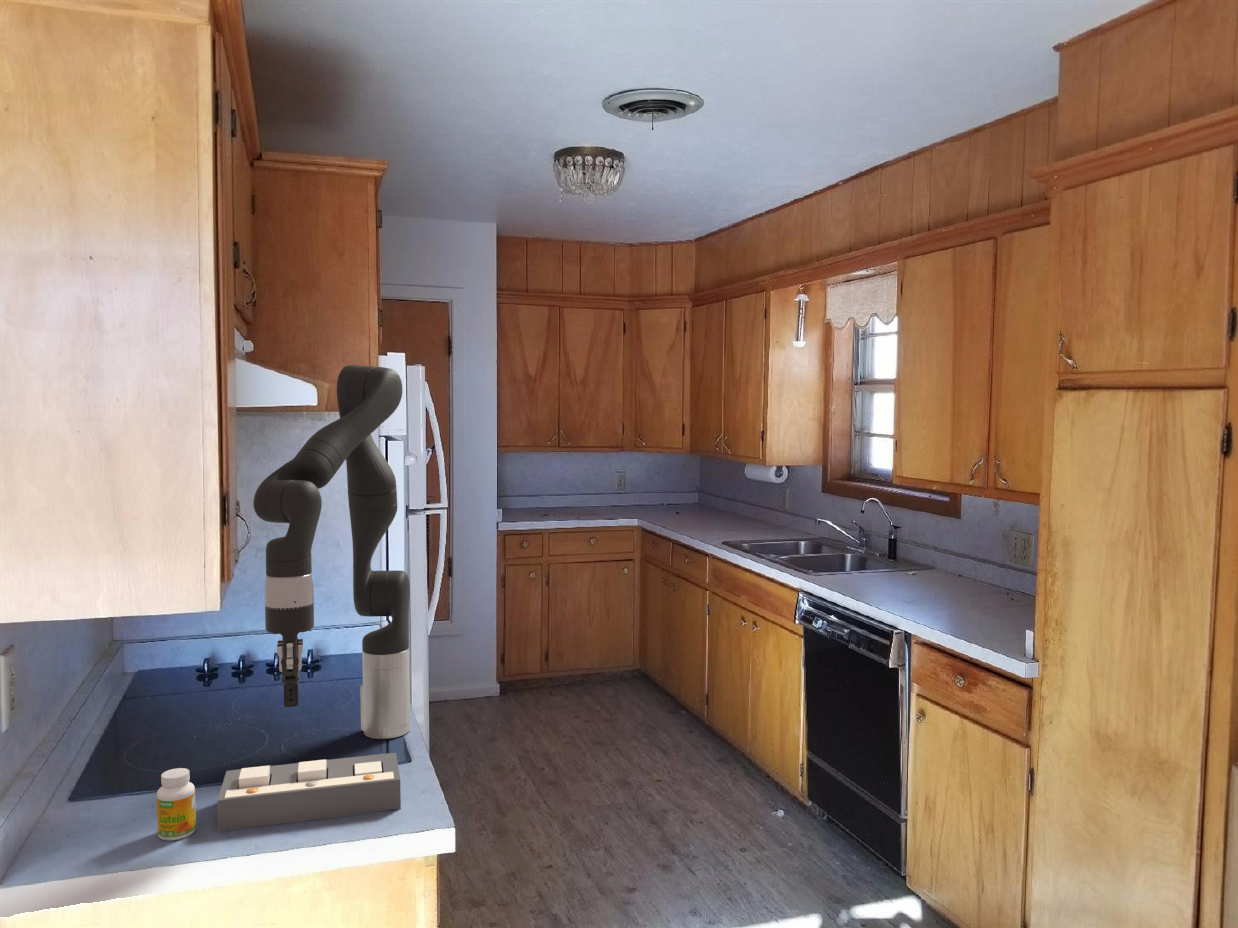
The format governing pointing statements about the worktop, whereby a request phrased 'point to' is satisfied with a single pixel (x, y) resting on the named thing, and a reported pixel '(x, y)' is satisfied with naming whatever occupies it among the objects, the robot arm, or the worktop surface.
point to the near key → (254, 777)
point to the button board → (309, 794)
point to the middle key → (312, 770)
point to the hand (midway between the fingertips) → (291, 705)
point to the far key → (368, 768)
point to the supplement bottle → (176, 805)
